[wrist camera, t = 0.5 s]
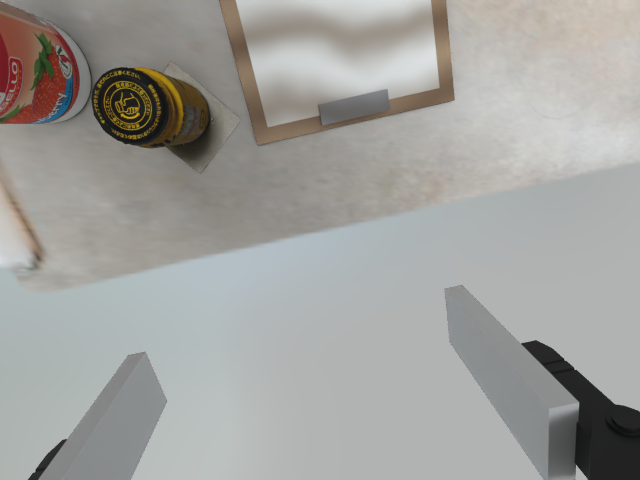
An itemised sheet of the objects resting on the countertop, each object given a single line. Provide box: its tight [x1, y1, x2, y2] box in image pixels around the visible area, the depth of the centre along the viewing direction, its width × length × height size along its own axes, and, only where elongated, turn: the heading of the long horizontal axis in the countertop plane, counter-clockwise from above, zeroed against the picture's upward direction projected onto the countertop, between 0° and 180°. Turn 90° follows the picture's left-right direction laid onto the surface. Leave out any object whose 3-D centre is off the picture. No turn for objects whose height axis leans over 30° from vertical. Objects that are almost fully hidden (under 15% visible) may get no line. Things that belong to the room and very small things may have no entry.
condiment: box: [92, 61, 241, 174], centre depth 31 cm, size 7×8×12 cm
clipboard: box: [219, 0, 455, 145], centre depth 34 cm, size 16×21×2 cm
